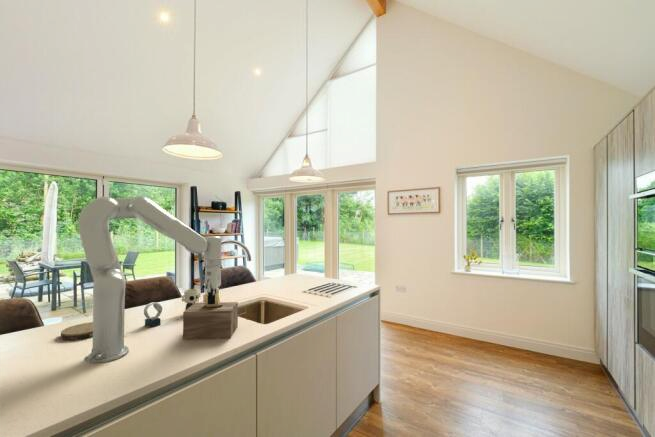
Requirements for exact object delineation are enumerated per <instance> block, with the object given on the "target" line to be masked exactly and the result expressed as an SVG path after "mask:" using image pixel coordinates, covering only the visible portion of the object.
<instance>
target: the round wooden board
mask: <svg viewBox="0 0 655 437" xmlns="http://www.w3.org/2000/svg"><path fill="white" fill-rule="evenodd" d="M91 338H92V339H93V321H91V322H90V321H89V322H83V323H80V324H75V325H72V326H68V327H66V328H63V329H62V330H61V331H60V339H61V341H64V342H65V341H67V342H74V341H82V340H87V339H91Z"/></svg>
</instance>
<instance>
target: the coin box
mask: <svg viewBox="0 0 655 437" xmlns="http://www.w3.org/2000/svg"><path fill="white" fill-rule="evenodd" d="M238 306H239V302H238V301H226V302H225V301H224V302H221V301H220V305H219V306H216V307H211V308H205V304H204V302H196V303H194V304H193V305H192V306H190V307H189V308H188V309H186V310H185V309H184V311H183V314H182V319H183V320H182V333H183V334H182V340H185V341H187V340H189V341H190V340H213V339H216V338H221V339H231V338H232V337H233V335H234V334H233V333H235V332H236V330H237V328H238V326H239V325H238V323H239V322H238V321H239V320H238V319H239V318H238V317H239V314H238V312H239V307H238Z"/></svg>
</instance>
